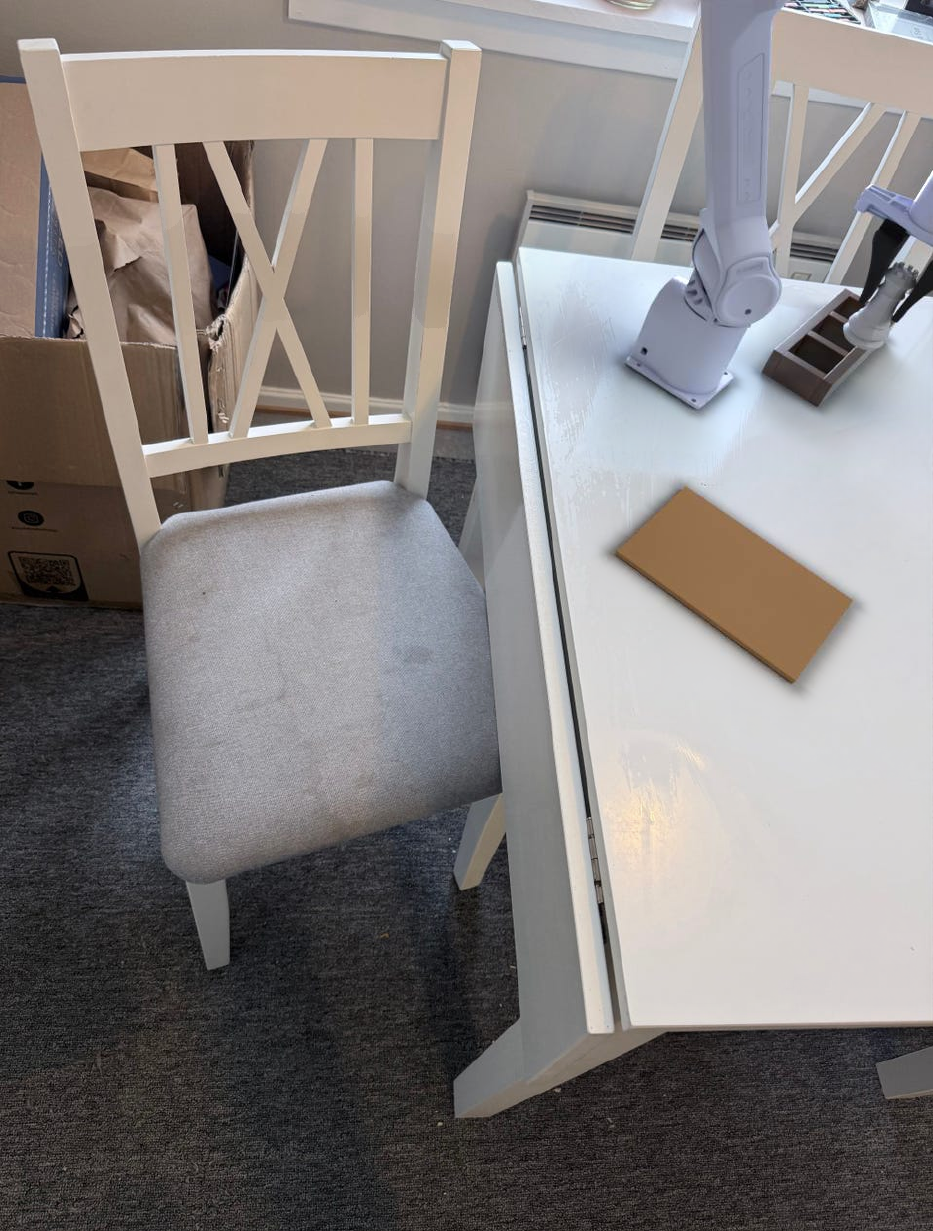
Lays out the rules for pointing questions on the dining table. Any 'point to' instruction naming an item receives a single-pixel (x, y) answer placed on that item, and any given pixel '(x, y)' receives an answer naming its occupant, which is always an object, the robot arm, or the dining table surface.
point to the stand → (819, 351)
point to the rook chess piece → (880, 309)
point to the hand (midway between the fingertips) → (880, 308)
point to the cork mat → (737, 582)
